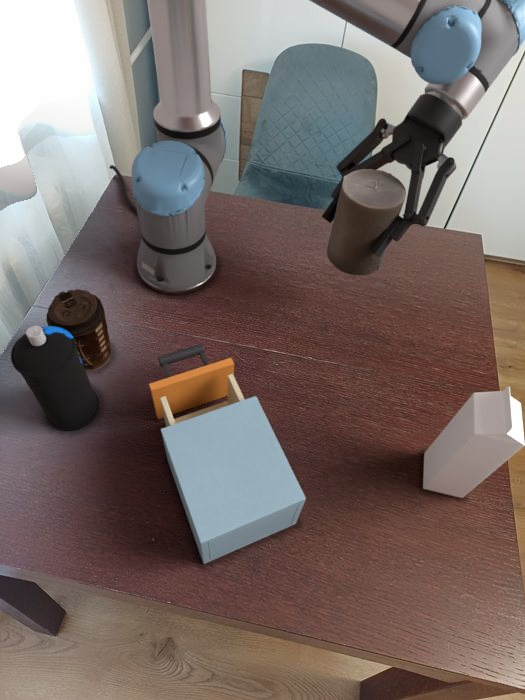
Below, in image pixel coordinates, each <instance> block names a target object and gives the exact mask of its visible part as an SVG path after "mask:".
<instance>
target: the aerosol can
mask: <svg viewBox="0 0 525 700" xmlns="http://www.w3.org/2000/svg"><path fill="white" fill-rule="evenodd" d="M10 361H11V364H12V366H13V368H14V370H16V371H17V372H18V373H19V374H20V375H21V376H22V378H23V380H24V381H25V383H26V385H27V386H28V388H29V389H30V391H31V393H32V394H33V396H34V397H35V399H36V401H37V402H38V404H39V405H40V407H41V409H42V410H43V412H44V414H45V418H46V420H47V422H48V423H49V425H51V427H53V428H54V429H56V430H60V431H63V432H64V431H65V432H73V431H76V430H80V429H83V428H84V427H86V426H88V425H89V424H90V423H92V422H93V420H94V419H95V418H96V417H97V415H98V412H99V409H100V398H99V395H98V394H97V393H96V391H95V390H94V388H93V386H92V383H91V380H90V378H89V376H88V374H87V371H86V370H85V369H84V366H83V364H82V362H81V359H80V357H79V354H78V352H77V350H76V342H75V339H74V338H73V336H72V335H71V334H70V333H69V332H68V331H66V330H64V329H63V328H59V327H54V326H48V325H46V326H40V325H37V324H36V325H35V324H34V325H31V326H29V327H28V328H27V329H26V330H25V333H24V334H22V335H21V336H20V337H19V338H18V339H17V340H16V342H15V343H14V344H13V346H12V348H11V351H10Z"/></svg>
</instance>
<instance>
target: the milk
mask: <svg viewBox="0 0 525 700" xmlns="http://www.w3.org/2000/svg"><path fill="white" fill-rule="evenodd" d="M524 447H525V433H524V422H523V412H522V403H521V402H520V401H518V400H517V399H516V398H514V397H513V396H511V386H510V385H507V386H506V387H505V388H504V389H503V390H496V391H495V390H494V391H479V392H478V391H477V392H473V393H472V394H471V395H470V397H469V398H468V399H467V400H466V401H465V402H464V404H463V405H462V407H461V408H459V410H458V411H457V412H456V414H455V415H454V416H453V417H452V419H450V421H449V422H448V423H447V425H446V426H445V427H444V429H442V430H441V432H440V433H439V435H437V437H436V438H435V439H434V441H433V442H432V443H430V446H428V448H427V449H426V450H425V452H424V453H423V475H422V477H423V478H422V483H423V484H422V489H423V490H426V491H431V492H435V493H439V494H443V495H448V496H451V497H456V498H460V499H463V498H464V497H466V496H467V495H469V493H470V492H471V491H473V490H474V489H475V488H477V486H479V485H480V484H481V483H482V482H483V481H484V480H486V479H487V478H488V477H489V476H491V475H492V474H493V473H494V472H495V471H496V470H498V469H499V468H500V467H501V466H502V465H503V464H505V463H506V462H507V461H508V460H509V459H511V458H512V457H513V456H514V455H516V453H518V452H519V451H520V450H522V449H523V448H524Z"/></svg>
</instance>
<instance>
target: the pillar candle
mask: <svg viewBox="0 0 525 700" xmlns="http://www.w3.org/2000/svg"><path fill="white" fill-rule="evenodd" d="M343 179H344V180H343V183H342V187H341V191H340V196H339V200H338V204H337V209H336V213H335V217H334V219H333V221H332V225H331V230H330V234H329V238H328V242H327V248H326V255H327V258H328V261H329V262H330V263H331V264H332V266H333V267H335V268H336V269H337V270H339V271H340V272H342V273H344V274H348V275H352V276H368V275H371V274H373V273H374V272H377V271H378V270H379V269H380V267H381V266H382V265H383V262H384V259H385V256H386V253H387V250H388V248H389V245H388V246H387V248H386V249H385V250H384V252H383V253H382V254H381V256H380V257H378V256H376V255H375V254H373V253H372V252H371V250H372V249H373V248H374V246H375V245H376V244H377V242H378V241H379V240H380V238H381V237H382V236H383V234H384V233H385V231H386V230H387V229H388V227H389V226H390V225H391V223H392V222H393V221H394V219H395V218H396V217H397V215H399V216H400V214H401V211H402V209H403V206H404V203H405V201H406V198H407V190H406V187H405V185H404V183H402V181H401V180H400V179H398V178H397V177H396V176H395V175H393V174H392V173H390V172H387V171H384V170H380V169H377V170H373V169H361V170H356V171H353V172H351V173H349V174H348V175H345V176H344V178H343Z"/></svg>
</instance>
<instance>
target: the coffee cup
mask: <svg viewBox="0 0 525 700" xmlns="http://www.w3.org/2000/svg"><path fill="white" fill-rule="evenodd" d="M45 319H46V324H47V326H54V327H59V328H63V329H64V330H66V331H68V332H69V333H70V334H71V335H72V336H73V338H74V339H75V342H76V350H77V352H78V354H79V357H80V359H81V362H82V364H83V366H84V369H85V371H86V372H95V371H97V370H99V369H101V368H102V367H104V366H105V365H106V364H107V363H108V361H109V360H110V358H111V355H112V349H111V341H110V332H109V328H108V323H107V319H106V312H105V308H104V305H103V303H102V301H101V299H100V298H99V297H98V296H97V295H95V294H94V293H91V292H90V291H88V290H86V289H80V288H79V289H78V288H76V289H74V290H73V289H68V290H67V291H60V292H59V293H58V294H57V295H55V296H54V298H53V300H52V302H51V304H49V306H48V310H47V312H46V318H45Z"/></svg>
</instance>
